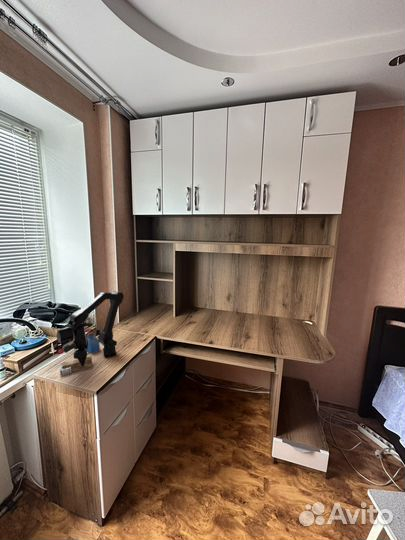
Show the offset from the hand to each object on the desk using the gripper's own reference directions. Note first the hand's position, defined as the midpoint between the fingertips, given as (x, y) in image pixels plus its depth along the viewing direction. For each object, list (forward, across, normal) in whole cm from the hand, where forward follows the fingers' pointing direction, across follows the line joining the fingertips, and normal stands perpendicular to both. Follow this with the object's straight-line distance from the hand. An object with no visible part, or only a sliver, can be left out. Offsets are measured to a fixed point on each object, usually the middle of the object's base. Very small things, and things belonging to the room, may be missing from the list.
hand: (83, 362), depth 126 cm
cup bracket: (+3, 0, -8) cm, 8 cm away
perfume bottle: (+3, -19, +4) cm, 20 cm away
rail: (+3, 0, -3) cm, 4 cm away
